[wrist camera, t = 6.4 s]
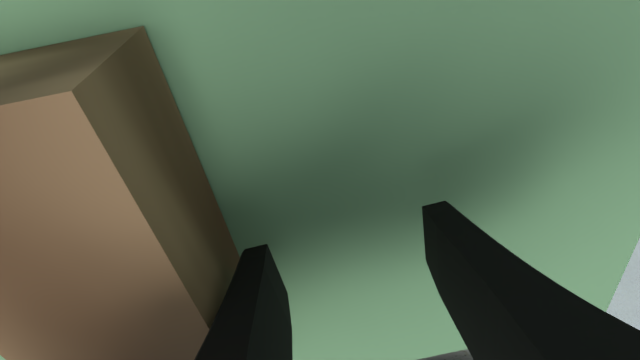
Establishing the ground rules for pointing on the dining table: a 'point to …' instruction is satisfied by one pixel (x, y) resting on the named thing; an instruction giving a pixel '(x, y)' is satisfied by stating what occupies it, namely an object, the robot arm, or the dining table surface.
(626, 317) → the dining table surface
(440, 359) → the ceramic mug
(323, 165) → the putting deck
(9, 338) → the block
